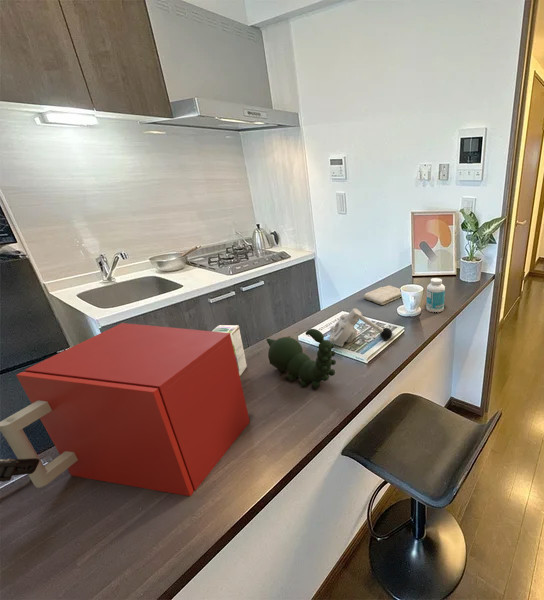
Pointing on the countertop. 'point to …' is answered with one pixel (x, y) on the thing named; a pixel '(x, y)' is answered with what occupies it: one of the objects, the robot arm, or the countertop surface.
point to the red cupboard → (169, 382)
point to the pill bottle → (435, 295)
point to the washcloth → (383, 295)
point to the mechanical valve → (346, 328)
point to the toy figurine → (302, 359)
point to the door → (99, 433)
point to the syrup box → (235, 344)
